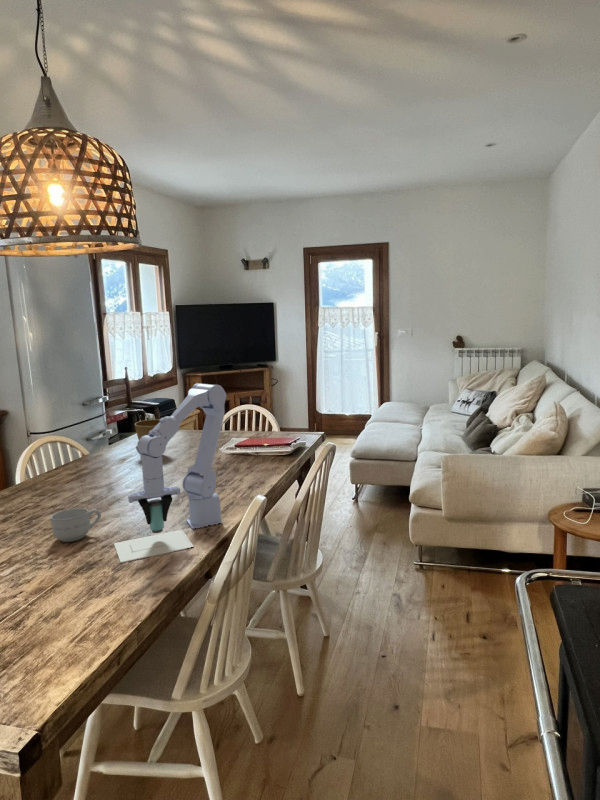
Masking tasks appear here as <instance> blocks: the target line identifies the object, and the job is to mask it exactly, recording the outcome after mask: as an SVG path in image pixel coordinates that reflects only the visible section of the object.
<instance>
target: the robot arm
mask: <svg viewBox="0 0 600 800" xmlns="http://www.w3.org/2000/svg"><path fill="white" fill-rule="evenodd" d="M227 396H228V395H227V393H226V391H225V389H224V387H222V385H219V384H210V383H209V384H208V383H200V382H197V383H194V385H193V386H192V387H191V388H190V389H189V390H188V391H187V396H186V397H185V398H184V399H183V400H182V402H181V403H180V404H179V405H178V407H177V408H176V409H175V410H174V411H173V413H172V414H171V415H170V416H167V415H166V416H164V417H161V418H160V419H158V420H159V421H160V422H159V423H158V424H157V425H156V426H155V427H154V429H153V430H150V431H149V434H148V435H145V436H142V437H141V438H140V439H138V441H137V444H136V446H135V449H136V451H137V453H138V454H139V455H140V460H141V470H142V471H141V472H142V482H143V483H142V484H143V490H142V491H138V492H135V493H130V494H127V499H128V503H129V504H133V503H134V502H138V503H139V506H140V507H141V509H142V511H143V514H144V517H145V520H146V524H147V525H150V515H149V503H148V501H149V500H153V499H157V498H158V499H159V498H160V500H162V506H163V518H164V522H167V521H168V519H167V518H168V513H169V509H170V506H171V504H172V502H173V496H174V495H175V496H179V495H181V488H180V487H179V486H171V487H165V480H164V466H163V455H164V453H165V452H166V448H167V445H168V443H169V442H170V440H171V439H172V438H173V437H174V436H175V435H176V434H177V433H178V432H179V431H180V424H181V423H182V422H183V421H184V420H185V419H186V418H188V416H190V415H191V413H193V412H194V410H196V409H197V408H200V409H202V411H203V412H204V414H205V419H204V423H203V428H202V432H201V436H200V440H199V444H198V449H197V452H196V456H195V461H194V464H193V465H190V467H188V468H187V473H186V475H185V476H184V477H183V480H182V484H181V485H182V489H183V490H184V491H185V493H186V497H188V498H187V499H188V509H189V518H187V519H186V523H187V525H189V527H190V528H191V529H192V530H196V529H199V528H200V527H201V528H205V527H204V526H206V527H209V526H208V525H211V526H214V525H213V524H216V525H219V524H218V523H221V524H222V523H223V521H222V510H221V501H220V497H219V494H218V493H217V492H216V490H217V473H216V472H215V470H214V468H213V466H214V465H213V464H214V460H215V457H216V452H217V448H218V443H219V438H220V436H221V435H220V434H221V430H222V428H223V427H222V425H223V421H224V418H225V404H226V399H227ZM215 492H216V493H215ZM195 528H196V529H195Z"/></svg>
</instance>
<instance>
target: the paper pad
mask: <svg viewBox="0 0 600 800" xmlns="http://www.w3.org/2000/svg"><path fill="white" fill-rule="evenodd" d="M113 546H114V549H115V552H116V554H117V557H118V560H119V562H120V564H123V563H129V562H131V561H137V559H138V560H141V559H146V558H152V557H156V556H160V555H165V554H170V553H174V551H175V552H179V550H180V551H184V550H187V548H189V549H191V547H195V546H194V545H193V543H192V541H191V540H190V539H189V537H188V536H187V535H186V533H185V532H184V531H183V529H179V530H174V531H173V530H172V531H169V532H163V533H157V534H153V535H150V536H149V535H148V536H144V537H137V538H134V539H128V540H124V541H118V542H113Z"/></svg>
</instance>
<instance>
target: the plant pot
mask: <svg viewBox="0 0 600 800" xmlns="http://www.w3.org/2000/svg"><path fill="white" fill-rule="evenodd" d="M159 420H160V419H145V420H140V421H136V422H135V423H134V427H135V431H136V434H137V435H136V436H137V439H138V440H139V439H140V438H141V437H142V436H145V435H148V434H149V431H150V430H153V429H154V427H155V426H156V425H157V424H158V423H159V422H160V421H159Z"/></svg>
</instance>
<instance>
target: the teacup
mask: <svg viewBox="0 0 600 800" xmlns="http://www.w3.org/2000/svg"><path fill="white" fill-rule="evenodd" d="M95 513H96V515H97V517H96V519H95V520H93V521H91V522H90V519H91V517H92V514H95ZM101 517H102V513H101V511H100V510H99V509H95V508H93V509H91V510H89V509H88V508H84V507H75V508H74V507H73V508H67V509H64V510H61V511H57V512H55V513H52V514H51V516H50V517H49V519H50V523H51V528H52V529H51V530H52V534H53V536H54V538H55V539H57V540H59V541H61V542H63V543H69V542H71V543H72V542H76V541H79V540H81V539H83V538H84V537H85V536H86V535H87V534H88V533H89V531H90V530H91V529H92V528H93V526H95V525H96V524H97V523H98V522H99V521H100V520H101Z"/></svg>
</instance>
